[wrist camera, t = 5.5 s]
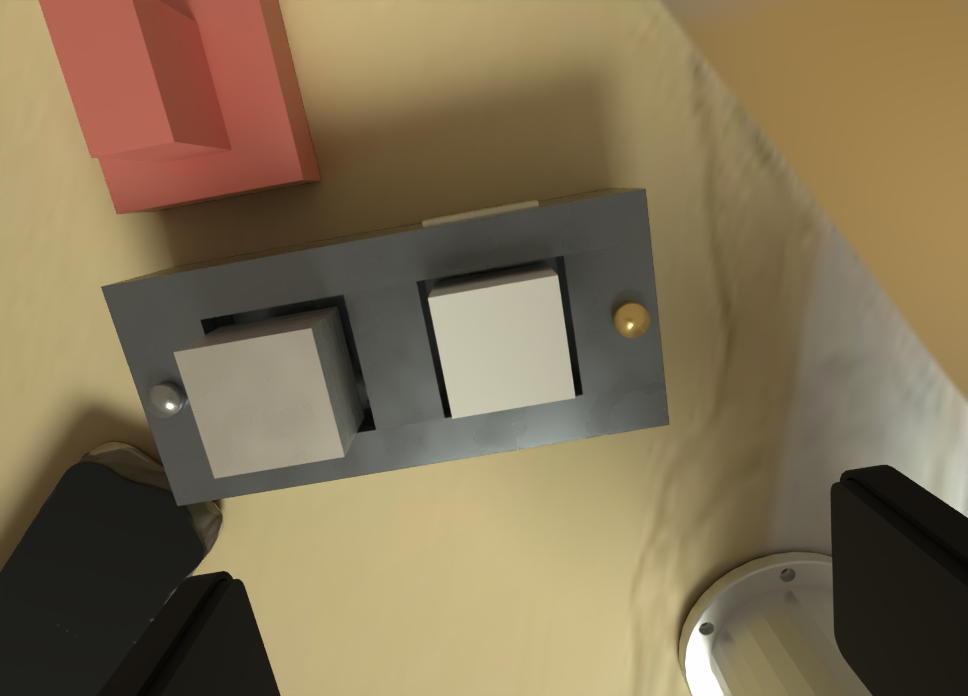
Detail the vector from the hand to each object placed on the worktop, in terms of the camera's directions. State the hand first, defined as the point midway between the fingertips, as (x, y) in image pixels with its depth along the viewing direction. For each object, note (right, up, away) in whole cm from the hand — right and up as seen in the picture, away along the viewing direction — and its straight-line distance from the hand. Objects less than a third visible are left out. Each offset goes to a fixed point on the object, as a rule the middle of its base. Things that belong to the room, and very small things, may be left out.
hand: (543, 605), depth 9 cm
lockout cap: (-14, +15, +19) cm, 28 cm away
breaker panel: (-5, +5, +22) cm, 23 cm away
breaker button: (0, +5, +18) cm, 19 cm away
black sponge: (-22, -9, +26) cm, 35 cm away
